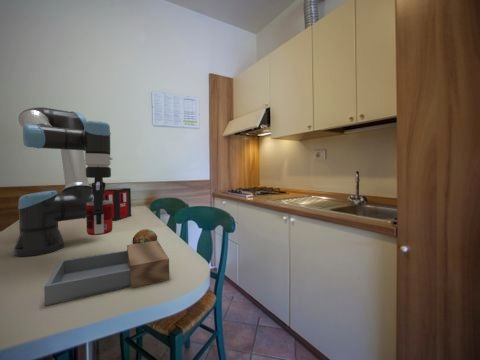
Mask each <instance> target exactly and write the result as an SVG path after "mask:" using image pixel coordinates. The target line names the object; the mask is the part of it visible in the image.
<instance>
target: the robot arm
mask: <svg viewBox="0 0 480 360" xmlns="http://www.w3.org/2000/svg"><path fill="white" fill-rule="evenodd" d="M18 122H19V125H20V126H21V128H22V141H23V142H22V143H23V145H24V147H26V148H33V149H35V148H36V149H49V150H50V149H52V150H53V149H55V150H60V155H61V163H62V170H63V176H64V177H63V178H64V185H65V187H64V188H63V189H62V190H61V193H58V191H57V190H47V191H38V192H32V193H29V194H23V195H21V196H20V197H19V199H18V207H17V209H18V223H19V235H18V237H17V239H16V243H15V245H14V246H13V255H14V256H15V257H33V256H38V255H44V254H49V253H51V252H52V253H53V252H55V251H58V250H61V249H63V248H64V247H65V241H64V238H63V236H62V234H61V231H60V229H59V222H63V221H66V222H67V221H74V220H79V219H85V220H86V203H87V202H90V201H94V211H93V213H92V215H94V234H100V233H104V214H103V201H104V194H105V190H106V184H107V183H106V182H104V178H105V179H106V178H107V179H108V178H111V177H112V170H111V169H112V168H111V167H110V166H111V163H112V162H111V161H112V160H113V158H114V157H111V135H112V133H111V129H110V125H109V123H107V122H105V121H98V120H87V119H86V117H85V116H84V114H82V113H79V112H75V111H69V110H61V109H55V108H50V107H49V108H48V107H43V106H42V107H41V106H40V107H32V108H31V107H30V108H27V109H25V110H22V111H21V112H20V113H19V116H18ZM84 152H85V153H84ZM88 179H93V180H94V181H93V182H92V183H91V185H90V184H89V180H88Z"/></svg>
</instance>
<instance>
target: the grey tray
mask: <svg viewBox="0 0 480 360" xmlns="http://www.w3.org/2000/svg"><path fill="white" fill-rule="evenodd" d="M126 288H131V276H130V269H128V260H127V249H126V250H121V251H114V252H107V253H102V254H94V255H88V256H81V257H76V258H69V259H63V260H59V262H58V264H57V265H56V267H55V269H54V270H53V272H52V273H51V275H50V277H49V278H48V280H47V282H46V283H45V285H44V289H43V291H44V306H50V305H54V304H59V303H63V302H67V301H72V300H77V299H81V298H86V297H90V296H94V295H98V294H99V295H100V294H103V293H108V292H113V291H116V290H121V289H126Z"/></svg>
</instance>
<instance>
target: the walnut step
mask: <svg viewBox="0 0 480 360" xmlns="http://www.w3.org/2000/svg"><path fill="white" fill-rule="evenodd" d="M126 250H127V260H128V269H130V276H131V287H130V289H133V288H138V287H141V286H147V285H151V284H155V283H158V282H159V283H160V282H164V281H168V280H170V258H169V257H168V256H169V255H167V253H166V252H165V250H164V249H163V247H162V245H161V244H160V241H158V240H157V241H152V242H145V243H138V244H133V243H132V244H126Z"/></svg>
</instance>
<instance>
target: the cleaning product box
mask: <svg viewBox="0 0 480 360" xmlns="http://www.w3.org/2000/svg"><path fill="white" fill-rule="evenodd" d="M131 192H132V191H131V187H118V188H117V187H116V188H110V189H105V194H104V200H109V201H112V222H118V221H121V220H123V219H124V220H125V219H127V218H130V217H132V200H131V199H132V198H131V197H132V196H131V195H132V193H131Z"/></svg>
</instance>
